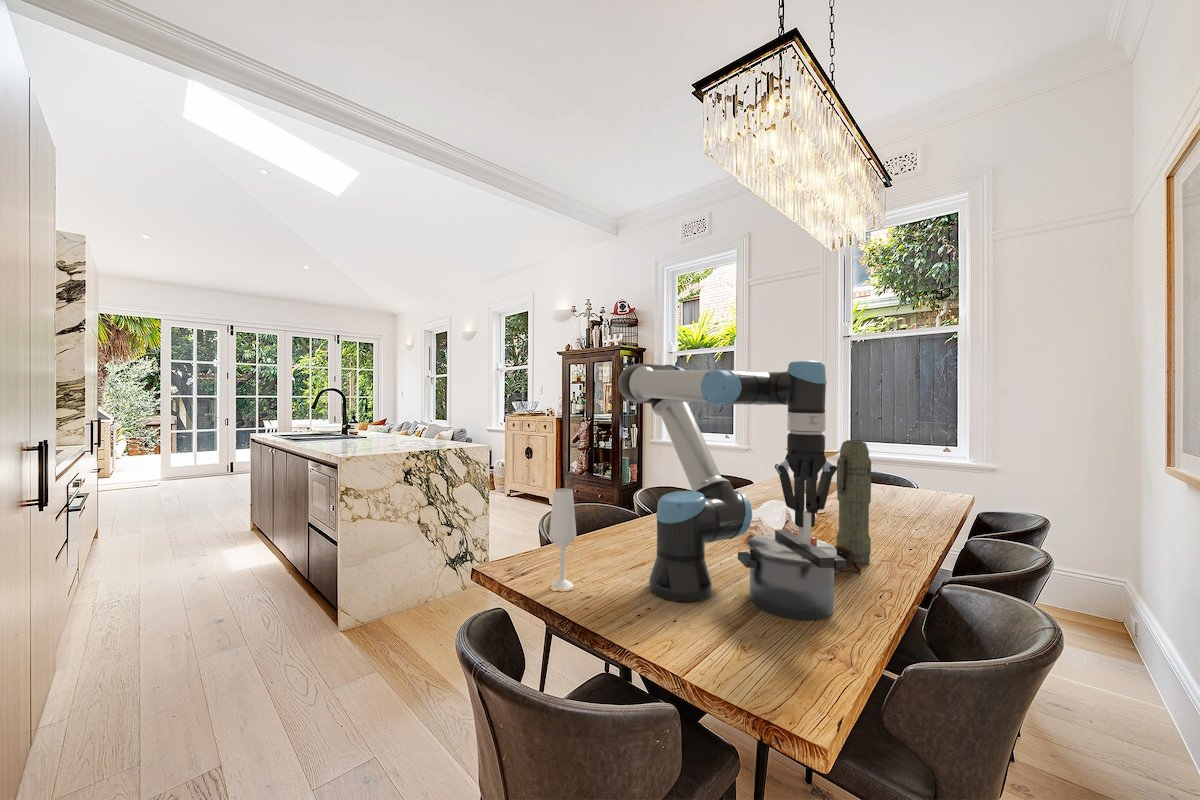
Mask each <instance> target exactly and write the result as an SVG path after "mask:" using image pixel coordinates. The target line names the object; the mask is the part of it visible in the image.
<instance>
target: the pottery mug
mask: <svg viewBox="0 0 1200 800" xmlns="http://www.w3.org/2000/svg"><path fill="white" fill-rule="evenodd" d="M833 546H834V547H835V548H836V549H837V555H838V556H840V557H842V558H843V559H845V560H846V568H836V567H835V568H834V573H842V572H847V571H848V570H855V571H856V572H857V573H858V574H859V575H861V574H862V568H861V565H859V564H858V563H859V560H858V559H857V556H856V555H855V554H854V553H853V552H852V551H851V550H850V549H849V548H847V547H845V546H840V545H837V544H836V545H833ZM839 552H842V553H839ZM857 562H858V563H857Z"/></svg>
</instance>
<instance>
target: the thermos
mask: <svg viewBox="0 0 1200 800" xmlns="http://www.w3.org/2000/svg"><path fill="white" fill-rule="evenodd" d="M869 455H870V451H869V448H868V445H867V443H866V442H864V441H863V440H855V439H854V440H851V439H848V440H845V441H843V442H842V443H841V447H840V449H839V457H838V459H837V460H836V467H837V470H836V490H837V491H836V493H837V497H836V498H837V500H838V531H837V533H836V545H840V546H845V547H847V548H849V549H850V550H851V551H852V552H853V553H854V554H855V555H856V556H857V559H858V560H859V563H858V562H857V563H858V565H859V564H864V565H868V563H869V562H870V563H871V558H870V556H871V552H872V551H871V549H872V547H871V546H872V545H871V544H872V541H871V540H872V539H871V537H870V534H869V531H870V530H869V529H870V528H869V527H870V525H869V522H870V521H869V520H870V519H869V517H870V512H869V511H870V503H872V461H871V460H872V459H871V458H870V456H869ZM839 553H842V552H839ZM870 563H869V564H870Z"/></svg>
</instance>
